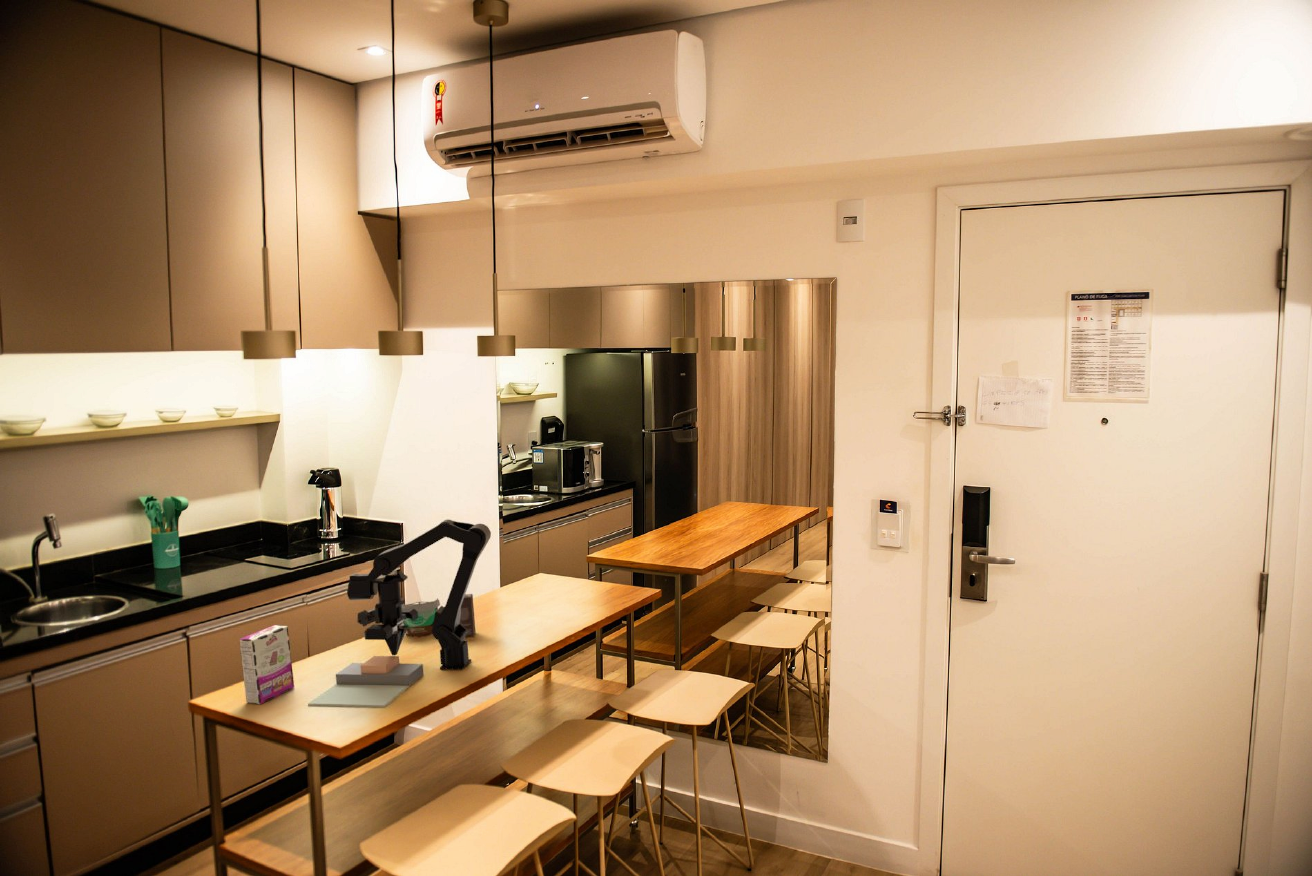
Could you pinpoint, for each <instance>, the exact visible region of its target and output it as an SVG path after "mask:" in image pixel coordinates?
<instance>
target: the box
mask: <svg viewBox="0 0 1312 876" xmlns="http://www.w3.org/2000/svg"><path fill="white" fill-rule="evenodd" d="M460 624H461V625H462V626H463V627H465V628H466V629H467V630H468V633H467V637H475V635H476V620H475V609H474V594H473V593H467V594H465V596H464V599H463V602H462V605H461V617H460ZM474 634H475V635H474Z"/></svg>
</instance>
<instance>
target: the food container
mask: <svg viewBox="0 0 1312 876" xmlns="http://www.w3.org/2000/svg"><path fill="white" fill-rule="evenodd" d="M439 607H441V602H440V599H439V598H438V597H437V598H436V599H435V600H433V601H432V600H431V601H416V602H413V603H408V604H407V603H406V604H404V603H403V604H402V609H415V610H416V611H417V612H418V619H416V620H415V621H412V620H411V619H410V618H407V619H405V620H404V621H402V623H404V625H408V628H407V630H406V633H405V636H406V637H408V636H409V638H422V637H421V636H424V637H427V636H430V635H431V636H432V635H433V634H432V628H433V626H430V625H431V624H432V623H433V621H434V616H435V612H436V611H437V610H438V609H439Z"/></svg>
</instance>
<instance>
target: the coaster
mask: <svg viewBox="0 0 1312 876" xmlns="http://www.w3.org/2000/svg"><path fill="white" fill-rule="evenodd" d="M362 663H363V664H362V665H360V667H361V673H388V672H389V671H390V670H392V669H393V668H394V667H396V666H397V665H398V664H400V656H399V655H373V657H371V658H369V659H368V660H366V661H365V662H362Z"/></svg>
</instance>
